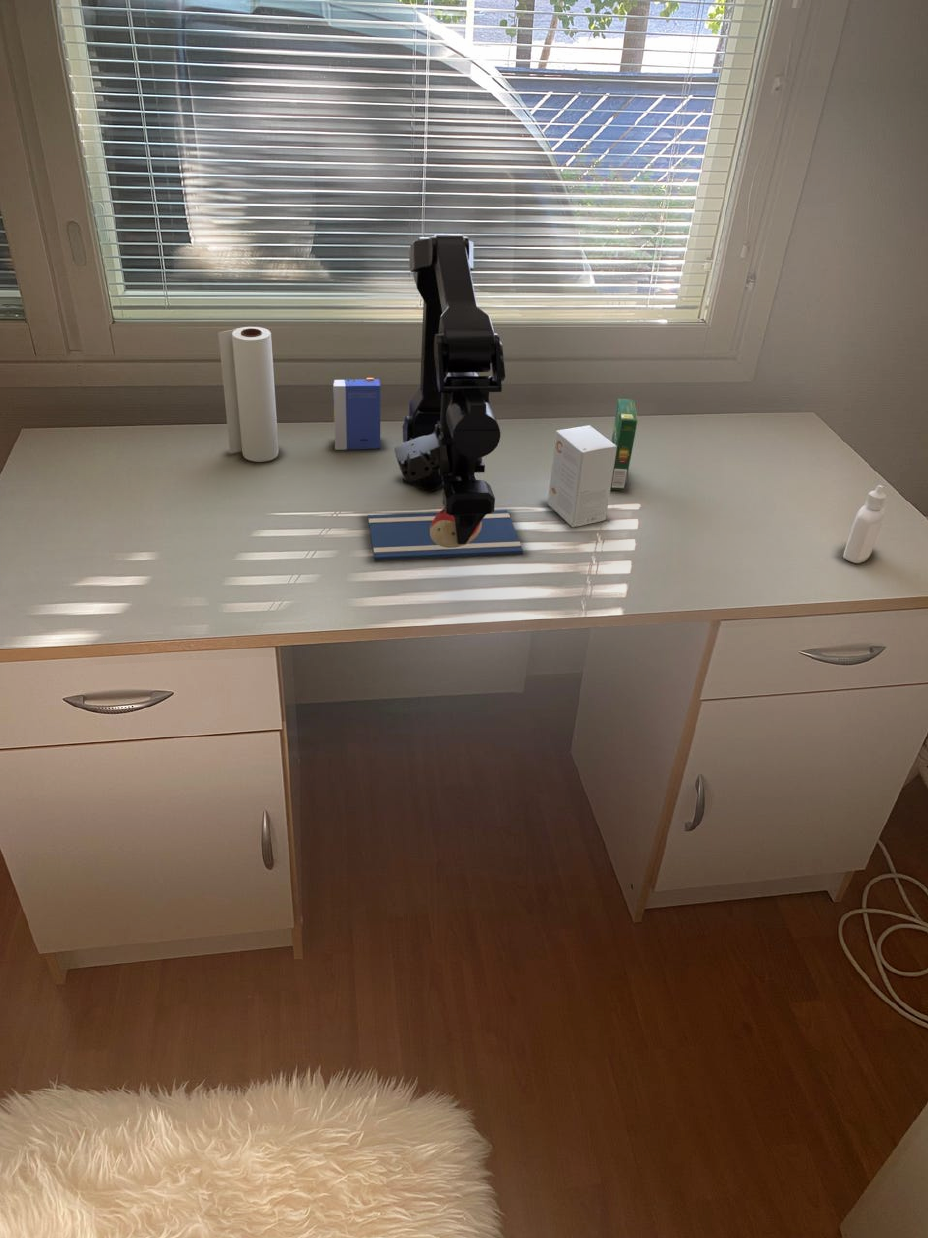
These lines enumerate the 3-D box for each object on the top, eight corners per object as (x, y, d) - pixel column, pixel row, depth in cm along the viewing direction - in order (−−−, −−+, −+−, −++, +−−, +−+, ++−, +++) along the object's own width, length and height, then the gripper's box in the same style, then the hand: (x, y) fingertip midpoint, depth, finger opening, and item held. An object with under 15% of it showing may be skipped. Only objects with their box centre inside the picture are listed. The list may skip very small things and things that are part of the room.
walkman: (378, 441, 172) (378, 376, 164) (380, 448, 169) (380, 383, 162) (334, 442, 170) (332, 377, 163) (334, 449, 168) (333, 384, 161)
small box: (606, 521, 153) (618, 445, 146) (571, 528, 151) (582, 452, 143) (579, 497, 159) (590, 423, 151) (546, 504, 157) (554, 429, 149)
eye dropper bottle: (880, 560, 148) (906, 491, 141) (850, 565, 146) (874, 495, 139) (862, 545, 151) (886, 477, 144) (832, 550, 150) (855, 481, 143)
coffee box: (626, 492, 161) (638, 419, 154) (608, 491, 161) (620, 417, 154) (623, 469, 168) (635, 398, 160) (606, 468, 168) (617, 397, 160)
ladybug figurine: (421, 545, 131) (421, 522, 129) (444, 511, 139) (445, 489, 137) (468, 555, 130) (469, 533, 128) (489, 520, 138) (490, 498, 135)
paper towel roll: (286, 453, 166) (278, 330, 153) (262, 466, 162) (252, 341, 149) (254, 441, 169) (244, 320, 156) (230, 454, 165) (217, 330, 152)
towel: (374, 560, 141) (374, 556, 140) (367, 518, 150) (367, 514, 150) (522, 554, 144) (523, 550, 144) (506, 513, 154) (507, 509, 153)
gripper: (392, 392, 130) (391, 494, 140) (408, 457, 116) (406, 566, 125) (473, 391, 132) (467, 491, 142) (499, 454, 118) (490, 562, 127)
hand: (456, 525), depth 134 cm, fingers closed on ladybug figurine, 9 cm apart
